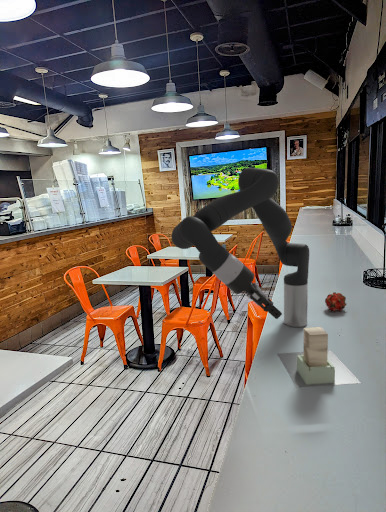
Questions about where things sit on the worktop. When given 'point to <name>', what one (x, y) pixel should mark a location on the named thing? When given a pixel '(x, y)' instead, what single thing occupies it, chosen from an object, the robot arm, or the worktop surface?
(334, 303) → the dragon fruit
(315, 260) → the worktop surface
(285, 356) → the grey flat plate
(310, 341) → the birch pillar
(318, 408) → the worktop surface
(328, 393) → the worktop surface
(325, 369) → the green plinth
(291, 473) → the worktop surface
